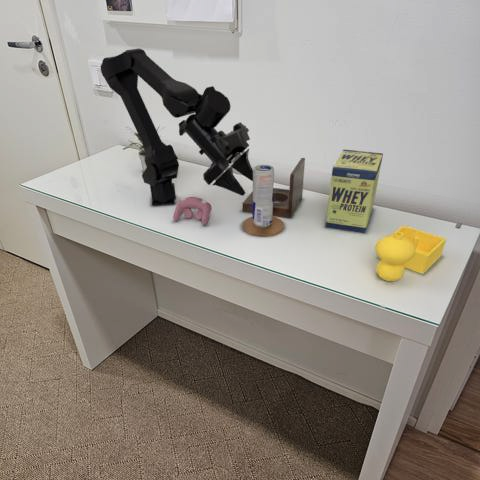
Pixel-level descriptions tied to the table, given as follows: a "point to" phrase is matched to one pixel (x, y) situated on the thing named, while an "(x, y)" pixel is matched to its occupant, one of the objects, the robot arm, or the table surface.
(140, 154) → the house plant
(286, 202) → the can rack
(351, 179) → the protein box
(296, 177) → the panel
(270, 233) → the cork coaster
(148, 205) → the table surface
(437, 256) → the bath set
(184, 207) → the video game controller
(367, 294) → the table surface
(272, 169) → the beverage can
